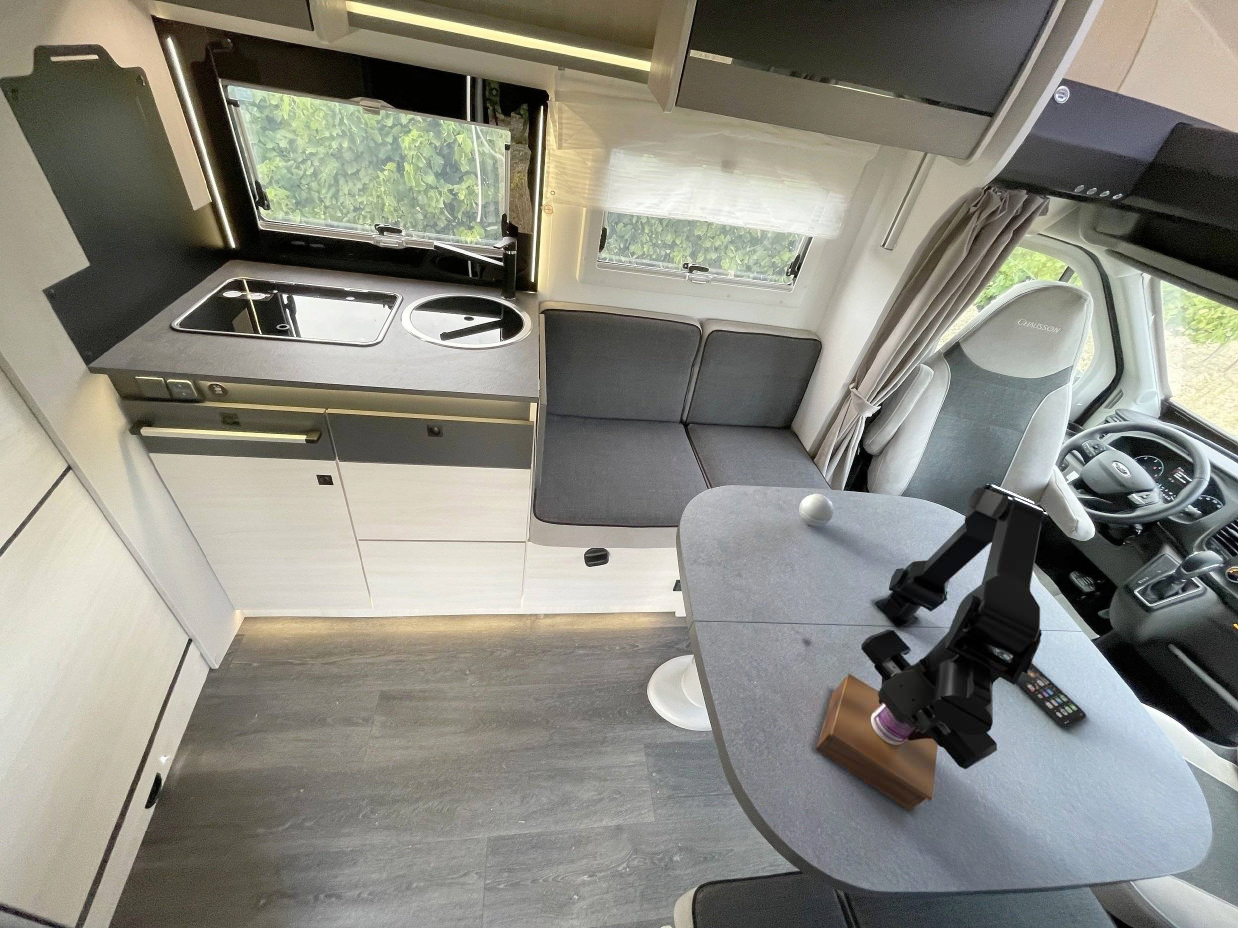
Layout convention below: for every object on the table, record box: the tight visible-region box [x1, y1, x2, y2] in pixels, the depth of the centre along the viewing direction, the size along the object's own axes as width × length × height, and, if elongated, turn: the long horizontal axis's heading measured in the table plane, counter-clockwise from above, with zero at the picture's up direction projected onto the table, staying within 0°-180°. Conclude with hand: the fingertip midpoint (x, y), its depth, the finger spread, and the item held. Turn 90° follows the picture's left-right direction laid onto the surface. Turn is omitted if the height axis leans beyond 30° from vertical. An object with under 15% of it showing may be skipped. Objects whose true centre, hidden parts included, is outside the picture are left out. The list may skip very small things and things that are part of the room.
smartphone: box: [997, 650, 1087, 729], centre depth 96 cm, size 7×1×15 cm
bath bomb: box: [798, 493, 835, 527], centre depth 123 cm, size 8×8×8 cm
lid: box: [830, 673, 939, 802], centre depth 77 cm, size 12×15×1 cm
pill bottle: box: [871, 703, 918, 745], centre depth 75 cm, size 5×5×10 cm
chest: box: [815, 675, 927, 811], centre depth 80 cm, size 12×15×6 cm
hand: (895, 719), depth 76 cm, fingers closed on pill bottle, 5 cm apart
